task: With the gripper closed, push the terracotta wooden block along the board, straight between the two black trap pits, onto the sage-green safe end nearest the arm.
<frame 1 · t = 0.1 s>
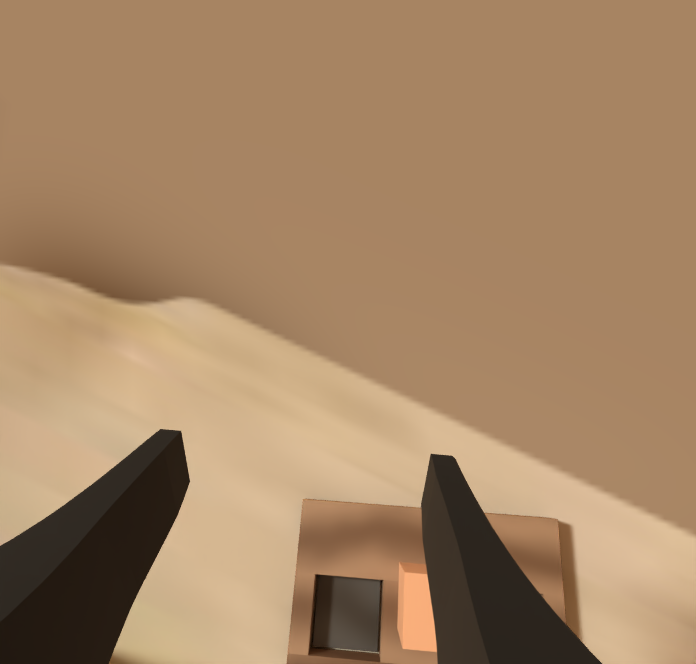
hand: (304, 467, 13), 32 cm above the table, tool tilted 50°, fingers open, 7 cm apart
trap board: (423, 630, 39), on the table
block: (427, 597, 38), point 2 cm above the table, touching trap board
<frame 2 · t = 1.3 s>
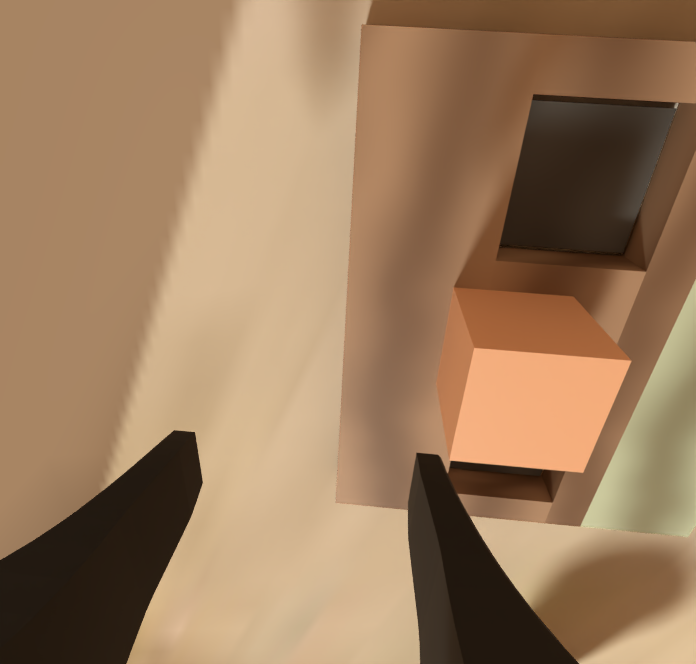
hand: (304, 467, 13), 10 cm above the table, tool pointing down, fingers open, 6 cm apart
trap board: (553, 327, 21), on the table
block: (500, 342, 20), point 2 cm above the table, touching trap board
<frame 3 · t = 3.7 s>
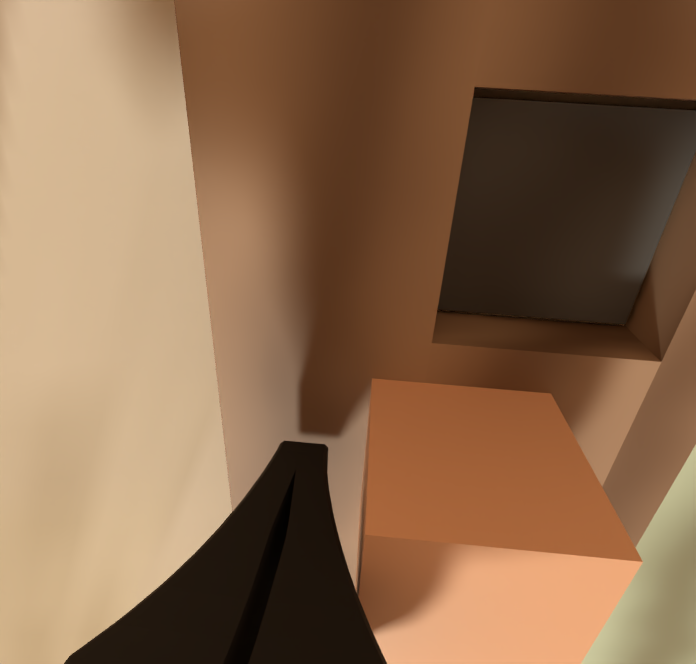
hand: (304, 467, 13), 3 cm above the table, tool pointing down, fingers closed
trap board: (526, 417, 15), on the table
block: (446, 451, 14), point 2 cm above the table, touching gripper, trap board
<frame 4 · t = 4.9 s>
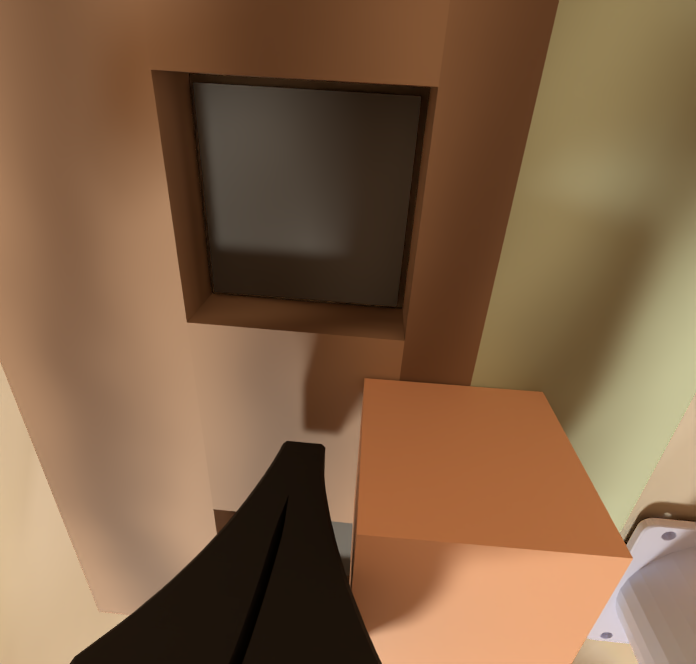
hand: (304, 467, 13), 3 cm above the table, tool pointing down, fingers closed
trap board: (333, 400, 16), on the table
block: (439, 450, 14), point 2 cm above the table, touching gripper
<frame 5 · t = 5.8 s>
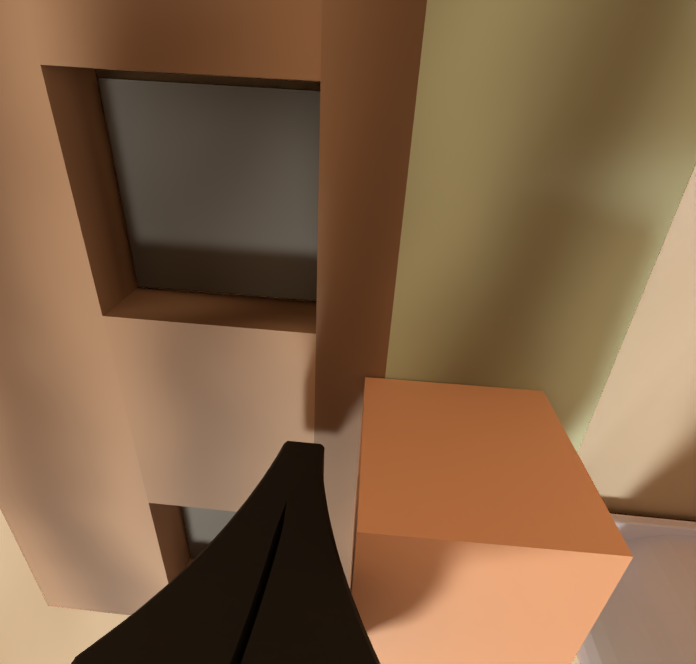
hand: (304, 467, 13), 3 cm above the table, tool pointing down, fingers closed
trap board: (266, 394, 16), on the table
block: (440, 449, 14), point 2 cm above the table, touching gripper, trap board
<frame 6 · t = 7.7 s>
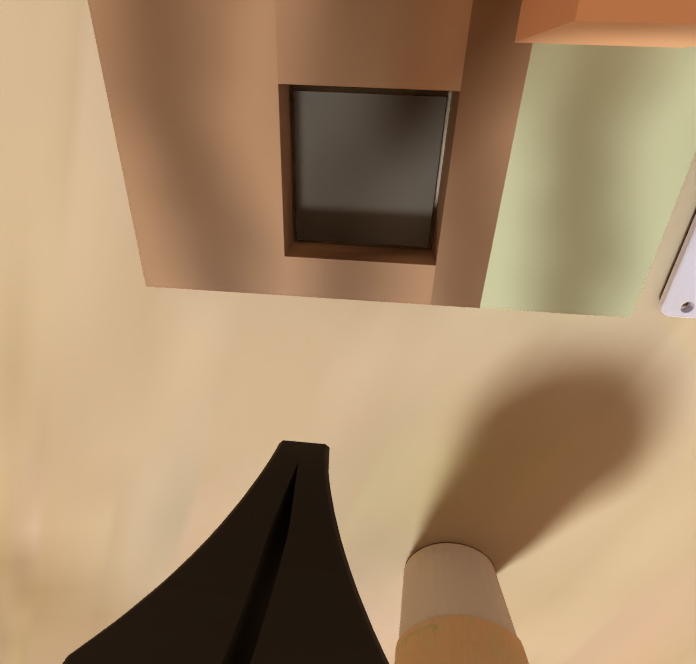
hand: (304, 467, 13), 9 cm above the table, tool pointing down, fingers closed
coffee cup: (448, 568, 30), on the table
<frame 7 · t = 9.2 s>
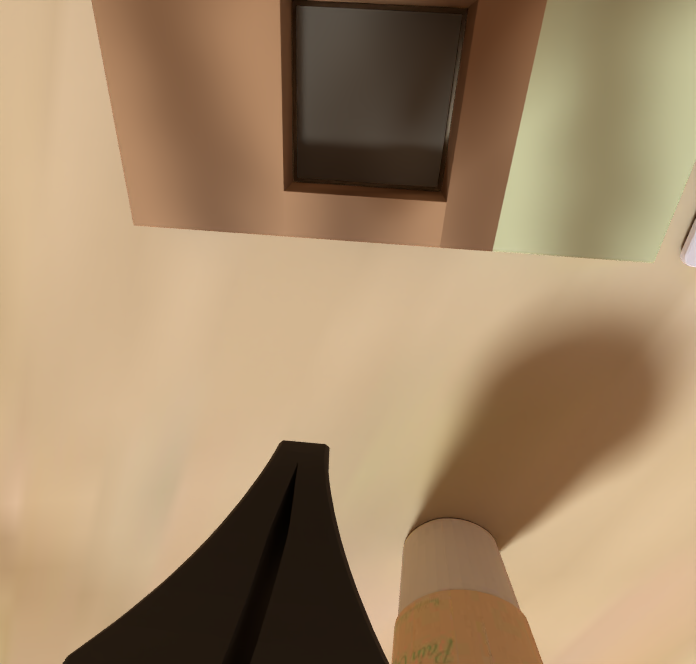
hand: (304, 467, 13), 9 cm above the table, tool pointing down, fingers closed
coffee cup: (449, 545, 29), on the table
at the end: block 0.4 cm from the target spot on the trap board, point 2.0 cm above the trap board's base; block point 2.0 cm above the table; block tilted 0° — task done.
